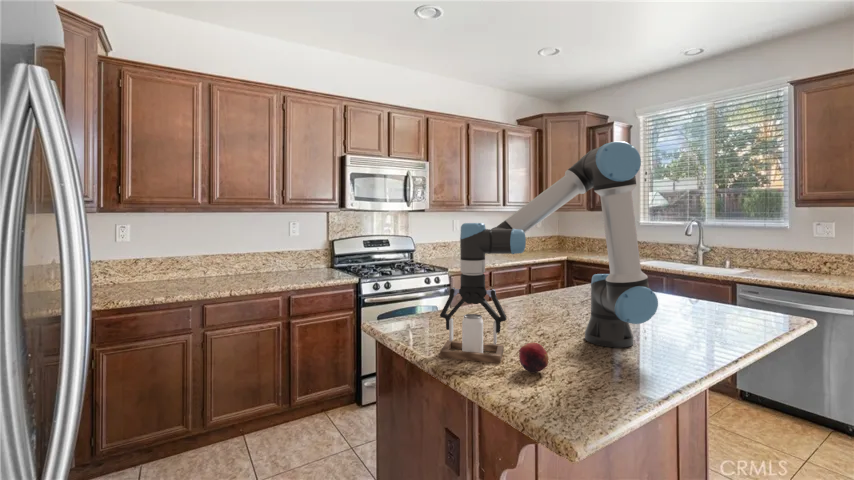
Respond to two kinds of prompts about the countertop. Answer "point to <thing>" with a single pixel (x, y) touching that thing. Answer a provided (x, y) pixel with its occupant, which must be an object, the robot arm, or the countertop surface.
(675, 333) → the countertop surface
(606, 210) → the robot arm
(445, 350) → the socket
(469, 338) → the can
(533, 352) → the fruit
